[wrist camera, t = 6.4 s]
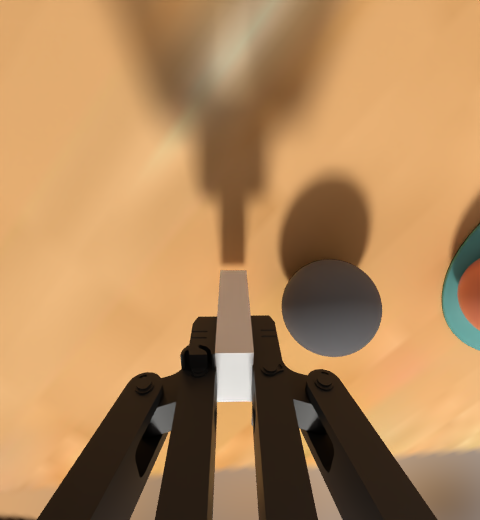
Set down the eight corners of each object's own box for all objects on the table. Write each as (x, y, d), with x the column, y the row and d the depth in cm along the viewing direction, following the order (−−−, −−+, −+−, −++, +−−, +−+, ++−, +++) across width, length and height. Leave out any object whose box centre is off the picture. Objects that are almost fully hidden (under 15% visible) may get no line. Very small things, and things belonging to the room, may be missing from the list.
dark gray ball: (410, 309, 14) (385, 252, 18) (287, 285, 14) (293, 236, 19) (371, 388, 16) (358, 321, 21) (270, 365, 17) (279, 305, 22)
